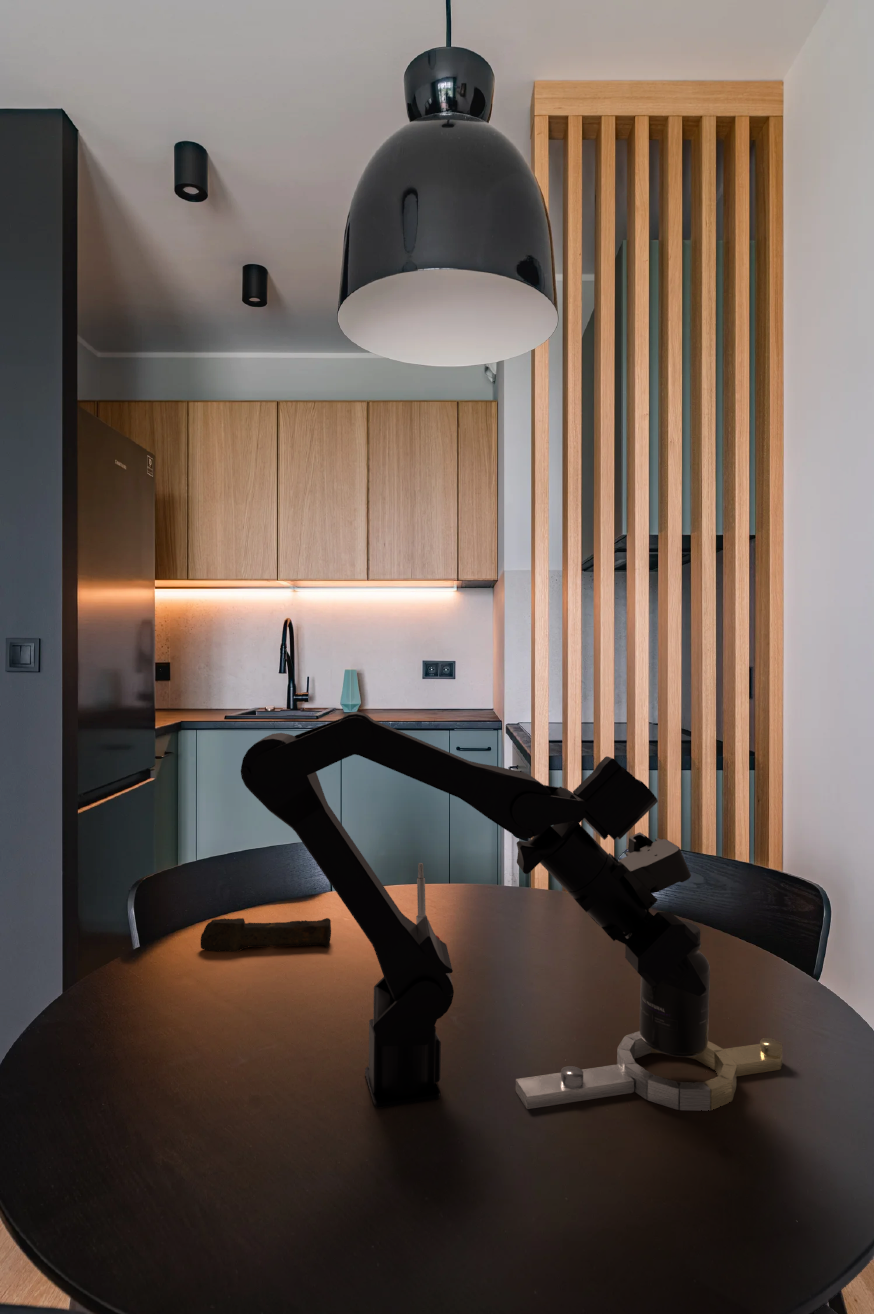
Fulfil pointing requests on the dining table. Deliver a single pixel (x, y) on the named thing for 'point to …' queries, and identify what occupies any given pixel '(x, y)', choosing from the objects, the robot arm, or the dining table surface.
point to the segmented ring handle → (613, 1083)
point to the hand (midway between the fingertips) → (687, 977)
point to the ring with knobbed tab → (736, 1066)
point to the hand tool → (263, 934)
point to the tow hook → (421, 894)
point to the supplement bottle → (677, 1011)
